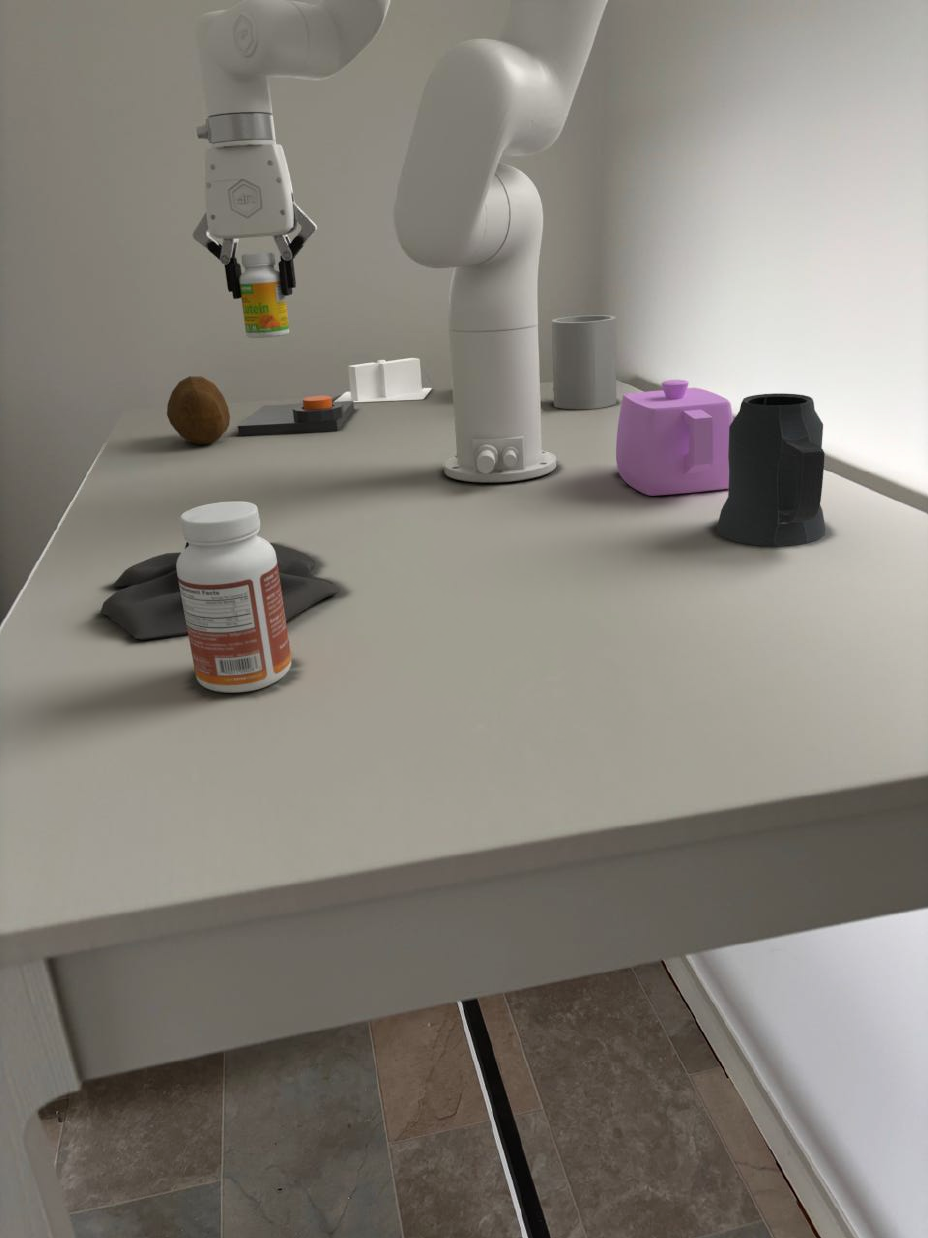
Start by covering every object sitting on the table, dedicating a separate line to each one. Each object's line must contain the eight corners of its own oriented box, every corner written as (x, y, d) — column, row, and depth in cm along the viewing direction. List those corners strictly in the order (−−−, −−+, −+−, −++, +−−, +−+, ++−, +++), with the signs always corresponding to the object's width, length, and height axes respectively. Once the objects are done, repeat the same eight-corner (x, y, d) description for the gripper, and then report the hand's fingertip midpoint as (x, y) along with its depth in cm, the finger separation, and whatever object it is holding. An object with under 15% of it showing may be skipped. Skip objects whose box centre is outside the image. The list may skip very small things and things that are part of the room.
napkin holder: (432, 387, 172) (430, 352, 170) (424, 399, 162) (421, 362, 160) (345, 391, 174) (341, 357, 172) (331, 403, 163) (327, 367, 161)
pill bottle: (255, 648, 70) (232, 492, 66) (311, 670, 66) (290, 505, 62) (177, 679, 66) (147, 515, 62) (232, 705, 62) (204, 531, 58)
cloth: (343, 626, 73) (334, 544, 71) (77, 656, 71) (59, 573, 69) (333, 538, 94) (326, 472, 92) (127, 559, 92) (114, 492, 89)
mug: (701, 520, 92) (705, 394, 88) (798, 510, 93) (806, 386, 89) (752, 561, 81) (758, 420, 77) (861, 550, 82) (874, 410, 78)
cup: (544, 402, 153) (542, 319, 148) (600, 395, 155) (599, 313, 151) (568, 411, 145) (566, 324, 140) (626, 404, 147) (626, 318, 143)
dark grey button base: (340, 431, 142) (338, 409, 140) (238, 436, 142) (235, 415, 141) (357, 409, 157) (355, 389, 156) (264, 414, 158) (262, 395, 157)
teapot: (600, 465, 114) (598, 372, 110) (691, 457, 115) (693, 364, 111) (650, 507, 97) (650, 398, 93) (755, 496, 98) (760, 389, 94)
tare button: (329, 410, 142) (328, 399, 141) (301, 412, 142) (300, 401, 142) (334, 405, 146) (333, 394, 145) (306, 407, 146) (305, 396, 145)
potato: (162, 452, 135) (151, 385, 132) (178, 434, 146) (168, 372, 143) (226, 447, 136) (216, 381, 132) (237, 430, 147) (229, 368, 144)
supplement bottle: (238, 339, 126) (227, 255, 122) (258, 333, 130) (247, 253, 127) (278, 337, 124) (267, 253, 121) (297, 332, 129) (287, 250, 125)
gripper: (160, 137, 116) (186, 303, 123) (309, 126, 115) (327, 294, 122) (179, 141, 123) (203, 298, 130) (320, 131, 122) (336, 289, 129)
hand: (263, 294), depth 126 cm, fingers closed on supplement bottle, 5 cm apart
